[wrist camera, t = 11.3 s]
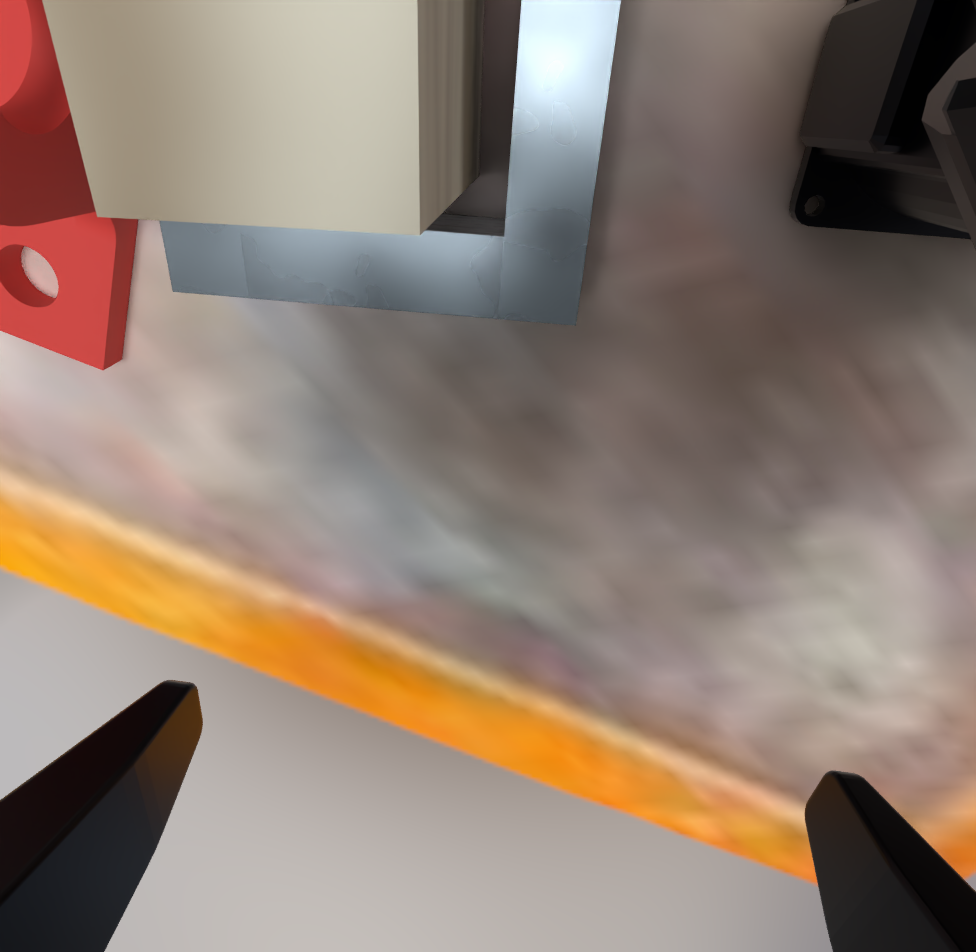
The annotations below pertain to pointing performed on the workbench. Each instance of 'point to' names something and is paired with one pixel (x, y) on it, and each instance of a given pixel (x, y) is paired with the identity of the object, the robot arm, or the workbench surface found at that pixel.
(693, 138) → the workbench surface
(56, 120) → the bracket
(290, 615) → the workbench surface
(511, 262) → the plate
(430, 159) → the birch peg
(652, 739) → the workbench surface
